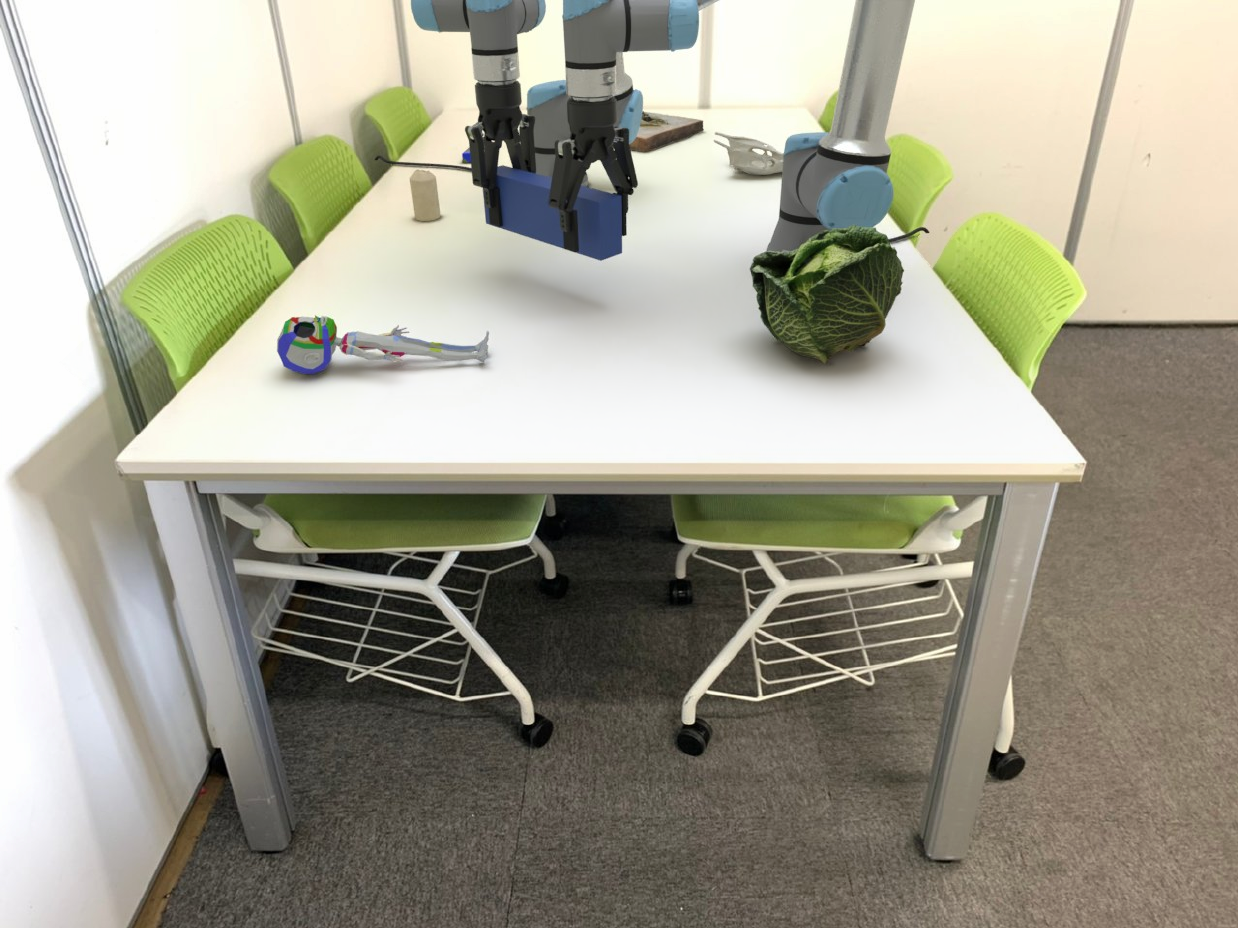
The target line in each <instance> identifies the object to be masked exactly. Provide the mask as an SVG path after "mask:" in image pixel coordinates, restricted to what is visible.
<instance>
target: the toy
mask: <svg viewBox="0 0 1238 928" xmlns="http://www.w3.org/2000/svg"><path fill="white" fill-rule="evenodd" d="M399 327H400V325H399V324H398V325H396V326H395V327H394V328H393V329H392V330H391V331H390V332H385V333H381V334H373V333H367V332H363V331H347V332H346V333H345V334H344V335H343V337H337V335H338V334H337V332H338V327H337V325H336V323H335V319H333V318H331V317H328V316H325V315H321V317H319V316H317V315H315V314H314V317H311V316H296V317H295V316H292V317H290V318H289V319H287V320H286V321H284V324H283V325H282V329H281V331H280V333H279V335H278V337H277V338H276V339H277V340H276V352H277V354H278V356H279V358H280V360H281V363H282V365H283V367H284V368H286V369H287V370H290V371H292V372H296V373H300V374H305V375H306V374H307V375H315V374H317V373H319V372H321V371H324V370H326V369H327V368H328V365H329V364H330V363H331V361H332V359H333V355H334V353H335V352H336V349H337V347H338V348H339V351H340V352H341V353H342V354H344V355H345V356H347V355H348V356H349V355H350V356H355V357H359V358H364V359H366V360H369V361H382V360H383V361H384V360H386V361H392V362H396V363H399V364H401V363H402V362H403V361H404V360H403V359H402V357H404V356H405V355H406V356H407V355H409V356H421V357H431V358H436V359H439V360H442V361H446V362H461V361H467V360H474V359H475V360H477V361H479V362H481V363H485V361H486V360H487V357H488V353H489V345H488V342H489V336H490V331H489V330H486V334H485V337H484V339H482V340H481V341H480V342H478V343H477V344H475V345H458V344H450V343H443V342H435V341H430V342H429V341H426V340H422V339H419V338H413V337H407V336H406V335H405V336H404V335H402V334H409V333H410V331H404V330H407V329H408V327H403V328H399ZM372 350H378V351H381V352H382V353H380V352H379V353H378V352H375V351H372Z"/></svg>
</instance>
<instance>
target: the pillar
mask: <svg viewBox="0 0 1238 928" xmlns="http://www.w3.org/2000/svg"><path fill="white" fill-rule="evenodd" d="M482 138H483V142H484V136H483V137H482ZM484 151H485V145H484ZM461 157H462V158H461V159H462V163H465V164H466V163H471V158H470V147H469V146H468V147H467V149H466V150H465V151H463V152H462V153H461Z"/></svg>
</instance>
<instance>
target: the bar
mask: <svg viewBox="0 0 1238 928" xmlns="http://www.w3.org/2000/svg"><path fill="white" fill-rule="evenodd" d="M551 182H552V178H550V177H546V176H543V175H539V174H535V173H531V172H527V171H523V170H519V169H515V168H513V167H512V166H507V165H503V164H502V165H498V169H497V178H496V188H499V189H500V198H501V210H502V222H503V226H501V227H498V226H495V225H492V224H490V220H489V209H488V207H486V205H485V198H484V189H483V188H482V194H483V195H482V196H483V204H484V205H483V206H484V207H483V208H484V215H485V224H486V225H489V226H492V227H495V228H498V229H501V230H505V231H508V232H510V233H514V234H516V235H517V234H518V235H520V236H523V237H527V238H528V239H529V238H530V239H532V240H535V241H539V242H542V243H545V244H548V245H550V246H554V247H557V248H560V249H563V250H565V249H564V241H563V231H562V230H561V228H560V215H559V210H558V209H554V208H551V207H549V206H548V200H549V194H550V188H551ZM612 193H613V192H608V191H604V190H601V189H596V188H592V187H589V186H587V187H585V186H581V187H580V190H579V193H578V196H577V199H576V202H575V204H574V207H573V210H577V216H578V241H579V252H576V254H579V255H582V256H585V257H587V258H591V259H594V260H597V261H600V262H602V261H605V260H608V259H609V258H613V257H615V256H618V255H621V254H623V236H622V204H621V196H620V195H616V194H612ZM566 203H567V200H566Z"/></svg>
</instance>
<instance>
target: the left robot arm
mask: <svg viewBox="0 0 1238 928" xmlns="http://www.w3.org/2000/svg"><path fill="white" fill-rule="evenodd" d="M410 10H411V13H412V16H413V21H414V22H415V24H416V25H417V26H418V27H419V28H420V29H421V30H423V31H428V32H438V33H469V37H470V45H471V48H470V49H471V61H472V74H473V79H474V80H475V81H477V82H476V83H475V84H474V93H475V102H476V103H475V104H476V107H477V109H478V111H479V112H478V116H477V121H476V122H475V123H474V124H473V125H466V126H465V128H464V132H465V135H466V137H467V140H468V148H469V147H470V158H471V162H470V167H468V166H463V165H455V164H444V163H429V162H427V163H426V162H409V161H408V162H407V161H395V160H394V161H393V160H388V159H386V158H385V157H384V156H382V155H377V156H375V158H374V161H379V159H380V160H382V161H383V162H384V163H386V164H390V165H400V166H414V167H415V166H416V167H436V168H448V169H449V168H450V169H458V170H465V171H471V178H472V179H471V180H472V184H473V186H475V187H479V188H482V190H483V189H484V197H483V199H484V198H485V205H486V207H488V209H489V220H490V224H492V225H495V226H498V227H501V226H503V222H502V210H501V198H500V189H499V188H496V178H497V169H498V166H499V160H500V158H499V156H500V149H502V148H503V142H504V143H505V146H506V150H507V153H508V157H509V161H510V163H511V168H515V169H519V170H523V171H527V172H531V173H535V174H539V175H543V176H546V177H550V178H552V175H553V169H554V163H555V157H556V156H555V141H556V140H561V141H565V140H568V139H569V138H570V135H571V127H570V125H569V123H568V121H567V100H568V99H569V98H570V96H568V95H567V94H566V79H559V80H552V81H546V82H543V83H538V84H535V85H532V86H531V87H530V88H529V89H528V90H527V93H526V109H525V110H526V113H527V114H526V113H523V112H522V110H521V105H522V104H523V103H522V102H523V101H522V87H521V83H520V82H519V81H518V79H519V78H520V77H521V73H520V60H519V57H520V56H519V47H518V46H519V45H518V35H520V34H524V33H530V32H532V31H533V30H534V29H536V28H537V27H538V26H540V25H541V23H542V22H543V20H544V18H545V15H546V11H547V5H546V0H410ZM625 71H626V70H625V60H624V52H617V53H616V93H615V94H614V95H613V97H615V99H616V100H617V122H616V123H615V124H614V125H613V126H614V127H615V126H618V127H623V128H628V129H629V144H630V143H632V142H633V141H634V140H635V138H636V136H637V134H638V131H639V128H640V124H641V119H642V112H643V111H644V96H643V93H642V91H641V90H638V89H636V88H635V89H634V85H633V78H632V77H631V76H630V75H629V74H628V73H626V72H625ZM482 137H484V142H483V138H482ZM612 144H613V143H612ZM484 145H485V150H484ZM578 161H581V160H580V159H578ZM581 162H582V161H581ZM581 186H585V187H589V175H588V173H587V172H586V173H585V176H584V178H583V181H582V184H581ZM492 225H491V226H492ZM495 226H494V227H495ZM498 227H497V228H498Z"/></svg>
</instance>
